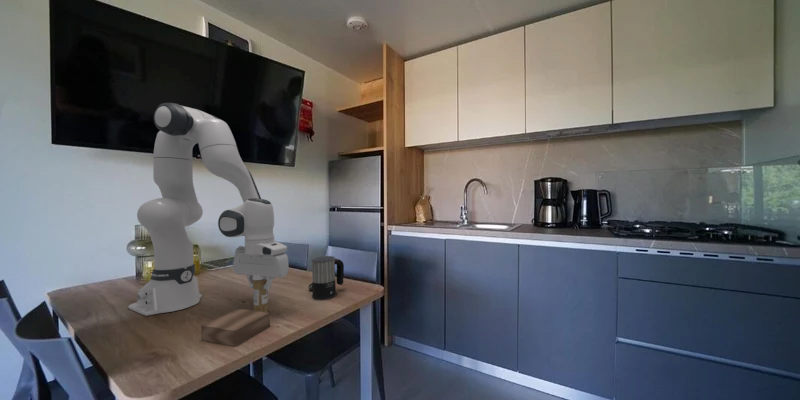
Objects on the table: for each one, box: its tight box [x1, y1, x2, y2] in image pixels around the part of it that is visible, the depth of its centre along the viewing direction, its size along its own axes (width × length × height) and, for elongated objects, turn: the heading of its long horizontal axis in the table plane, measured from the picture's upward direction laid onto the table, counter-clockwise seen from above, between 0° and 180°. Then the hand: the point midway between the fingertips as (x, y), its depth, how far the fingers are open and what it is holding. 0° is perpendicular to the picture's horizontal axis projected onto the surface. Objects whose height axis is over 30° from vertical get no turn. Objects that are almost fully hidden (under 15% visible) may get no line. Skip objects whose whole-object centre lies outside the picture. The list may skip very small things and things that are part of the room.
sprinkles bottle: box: [252, 274, 269, 313], centre depth 94 cm, size 5×5×14 cm
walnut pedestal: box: [200, 308, 271, 347], centre depth 81 cm, size 12×12×4 cm
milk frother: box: [307, 255, 345, 301], centre depth 114 cm, size 14×16×15 cm
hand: (260, 288), depth 94 cm, fingers closed on sprinkles bottle, 4 cm apart
